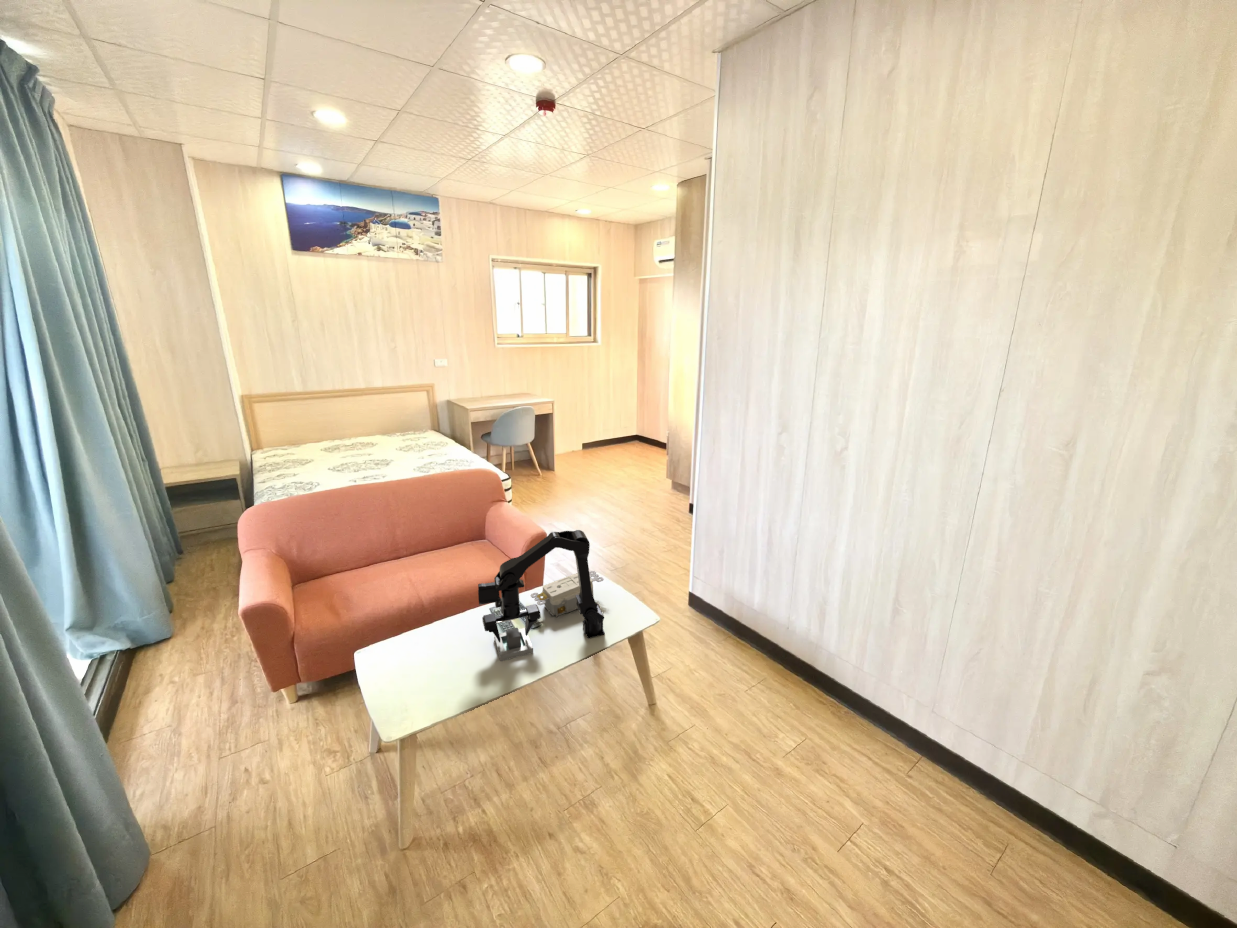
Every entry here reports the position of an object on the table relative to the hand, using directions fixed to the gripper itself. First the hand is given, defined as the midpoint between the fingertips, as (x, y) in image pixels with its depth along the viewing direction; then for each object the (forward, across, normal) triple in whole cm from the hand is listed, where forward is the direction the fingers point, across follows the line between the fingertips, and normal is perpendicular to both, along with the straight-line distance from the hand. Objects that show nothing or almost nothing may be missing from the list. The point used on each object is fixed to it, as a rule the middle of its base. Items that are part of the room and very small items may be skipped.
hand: (513, 638), depth 166 cm
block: (+3, 0, 0) cm, 3 cm away
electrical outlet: (+4, -25, -17) cm, 31 cm away
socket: (+3, 0, 0) cm, 3 cm away
